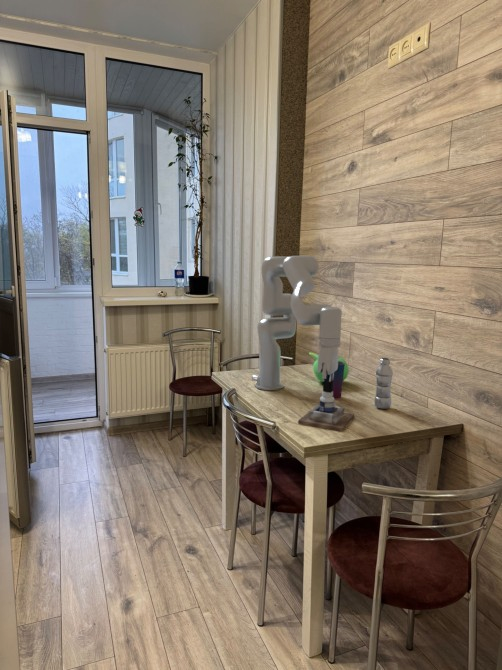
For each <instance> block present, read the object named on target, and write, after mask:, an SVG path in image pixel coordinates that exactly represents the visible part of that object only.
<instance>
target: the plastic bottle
mask: <svg viewBox="0 0 502 670" xmlns="http://www.w3.org/2000/svg"><path fill="white" fill-rule="evenodd" d="M393 374H394V371H393V368H392V366H391V359H390V358H388V357H380V360H379V366H378V367H377V368H376V370H375V377H376V389H375V396H374V400H373V401H374V407H375V408H377V409H381V410H382V409H383V410H388V409H390V407H391V406H392V394H391V391H392V390H391V388H392V387H391V386H392V379H393Z"/></svg>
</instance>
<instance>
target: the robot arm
mask: <svg viewBox="0 0 502 670" xmlns="http://www.w3.org/2000/svg"><path fill="white" fill-rule="evenodd" d="M261 263H262V264H261V269H260V270H261V276H262V283H263V287H262V303H261V304H262V305H261V307H262V308H261V309H262V312H263V314H264V315H266V316H280V317H268V318H267V317H266V318H263V319H261V320H260V321H259V322H258V324H257V325H256V326H257V327H256V328H257V336H258V342H259V344H258V345H259V346H258V347H259V353H258V354H259V357H258V359H259V362H258V363H259V367H258V369H259V371H258V372H259V373H258V375H254V374H253V375H252V376H251V380H252V381H253V382H256V383H255V387H256V388H257V389H259V390H261V391H262V390H263V391H278V390H279V391H280V390H281V389H283V388H284V383H282V382H281V354H282V353H281V347H280V345H279V344H278V342H277V340H278V339H279V340H280V339H290V338H292V337H294V335H295V334H296V331H297V324H299V325H300V326H303V327H305V326H306V327H309V326H318V327H319V329H318V330H319V331H318V332H319V334H318V346H319V350H318V355H319V356H318V368H317V373H318V374H320V373H322V378H323V382H322V391H324V392H330V393H331V392H332V391H333V377H334V372H335V371H336V370H337V369H338V355H339V348H341V333H342V330H341V329H342V309H341V308H339V307H335V306H332V305H330V304H324V303H323V304H304V302H303V299H302V298H303V297H305V296H307V295H308V294H310V293H311V292H312V291H313V290H314V289H315V284H316V283H315V280H314V279H313V277H315V276H316V275H317V274H318V272H319V262H318V260H317V259H316V258H315V257H314V256H312V255H290V256H278V255H277V256H269V257H266V258H265V259H263V262H261ZM280 277H281V278H285V277H286V278H287V280H288V282H289V284H290V286H291V287H292V289H293V292H292V294H291V293H283V289H284V284H283V281H282V279H281V278H280ZM281 316H283V317H281Z"/></svg>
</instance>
